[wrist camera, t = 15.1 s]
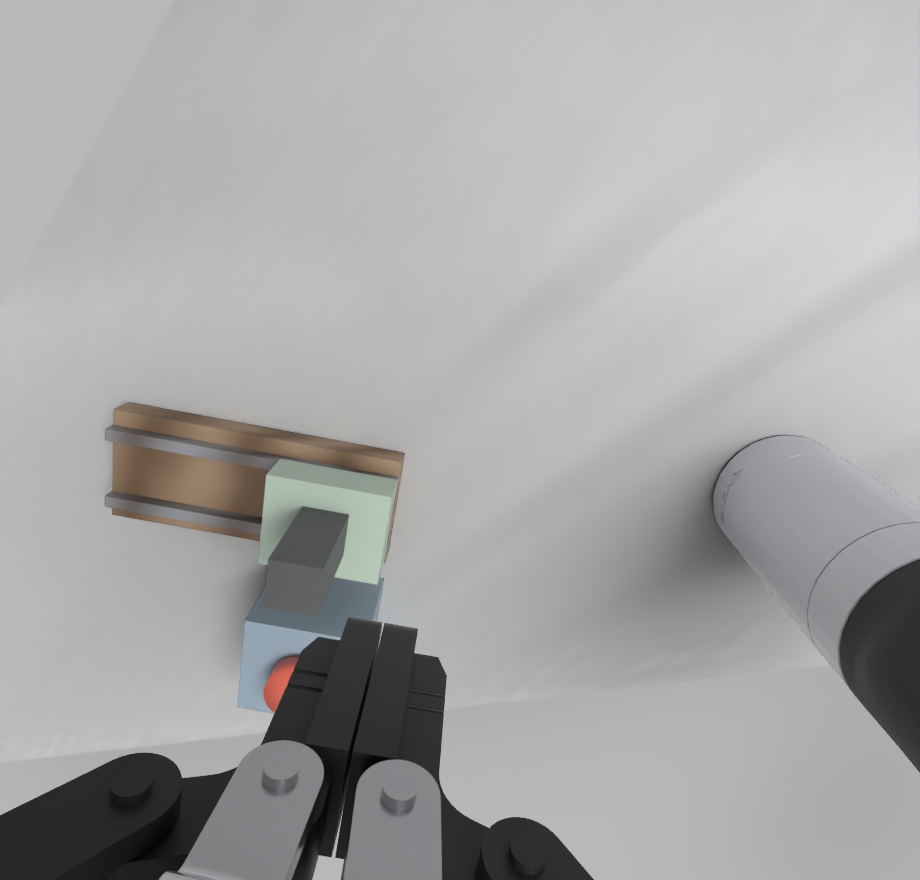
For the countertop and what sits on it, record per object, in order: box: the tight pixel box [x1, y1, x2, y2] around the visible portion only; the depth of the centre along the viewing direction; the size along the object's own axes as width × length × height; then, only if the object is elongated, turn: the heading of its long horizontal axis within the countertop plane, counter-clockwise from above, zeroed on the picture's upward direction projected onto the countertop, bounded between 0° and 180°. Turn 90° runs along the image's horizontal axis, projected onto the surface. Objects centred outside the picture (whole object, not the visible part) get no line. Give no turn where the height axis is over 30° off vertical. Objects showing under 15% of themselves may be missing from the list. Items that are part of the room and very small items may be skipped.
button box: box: [237, 577, 384, 714], centre depth 46 cm, size 8×7×8 cm
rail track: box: [105, 402, 405, 563], centre depth 46 cm, size 20×8×3 cm, turn 80°
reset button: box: [263, 657, 299, 713], centre depth 41 cm, size 4×4×2 cm
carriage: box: [258, 459, 397, 617], centre depth 39 cm, size 8×6×10 cm
